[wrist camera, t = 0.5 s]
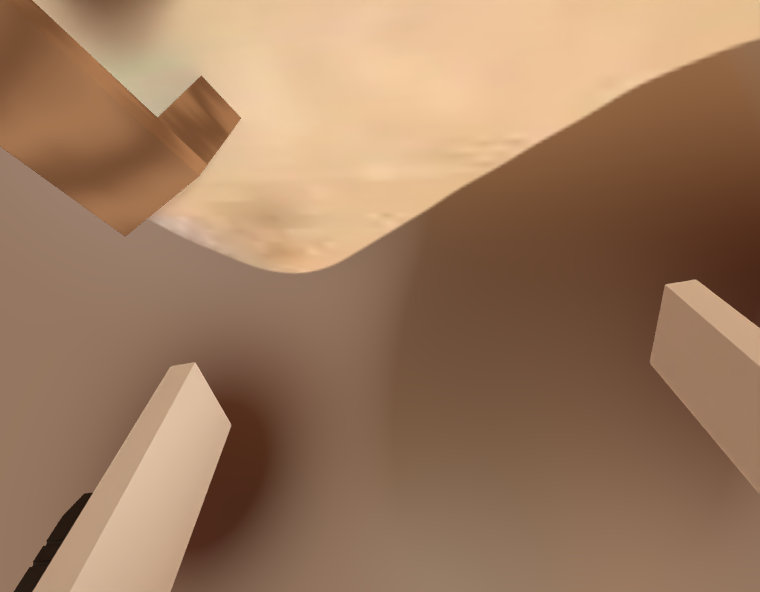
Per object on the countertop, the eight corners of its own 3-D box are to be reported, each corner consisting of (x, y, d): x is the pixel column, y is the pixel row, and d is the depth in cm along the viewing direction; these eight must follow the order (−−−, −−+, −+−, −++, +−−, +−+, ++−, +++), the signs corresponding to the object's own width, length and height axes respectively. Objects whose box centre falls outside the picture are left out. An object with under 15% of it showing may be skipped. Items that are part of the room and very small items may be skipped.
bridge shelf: (-156, -110, 26) (-337, -97, 20) (-121, -269, 21) (-345, -317, 15) (173, 176, 39) (125, 236, 33) (240, 118, 35) (199, 175, 28)
